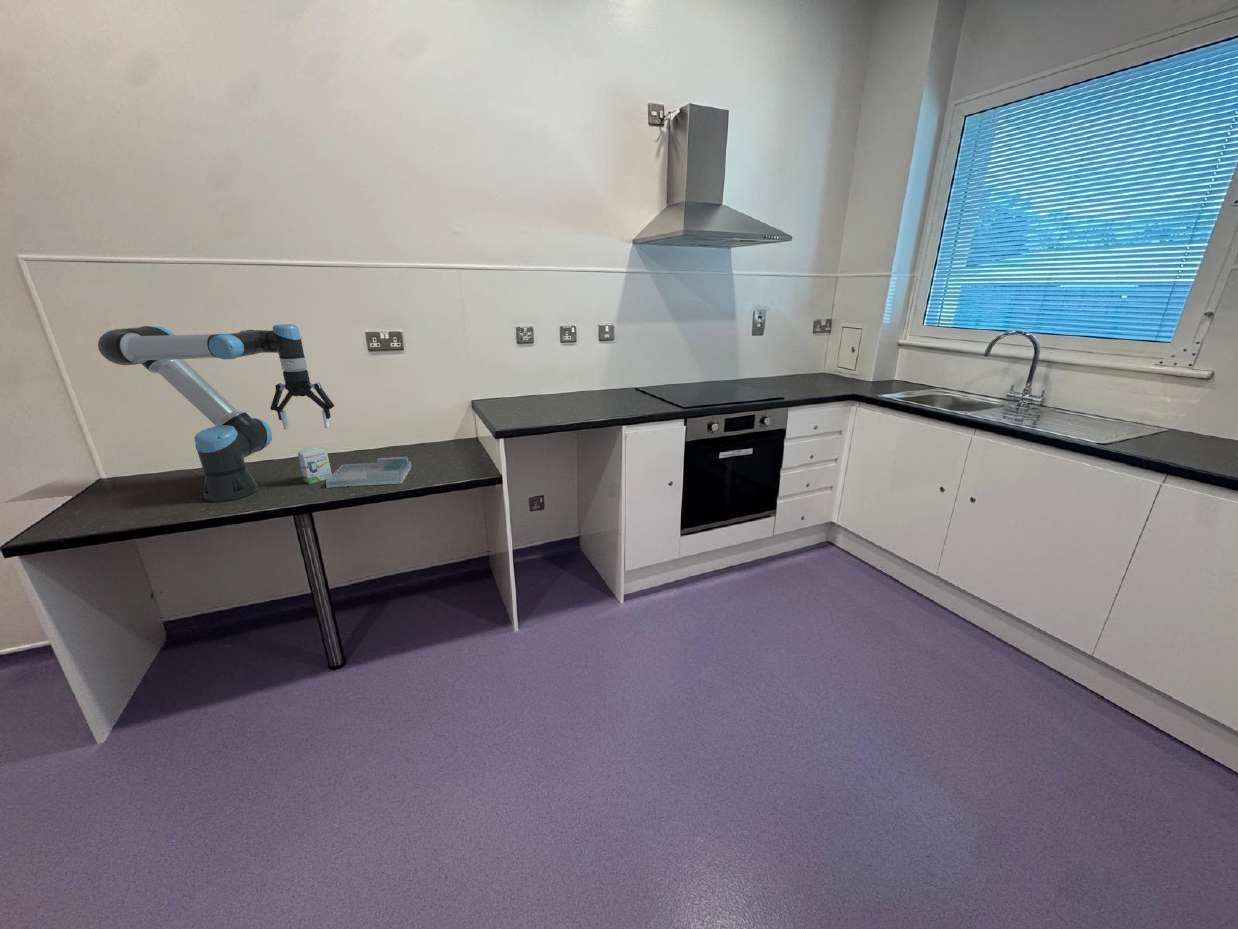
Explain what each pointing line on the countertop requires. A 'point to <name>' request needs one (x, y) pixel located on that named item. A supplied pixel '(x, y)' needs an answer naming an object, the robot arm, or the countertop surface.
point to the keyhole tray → (371, 473)
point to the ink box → (314, 465)
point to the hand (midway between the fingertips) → (307, 427)
